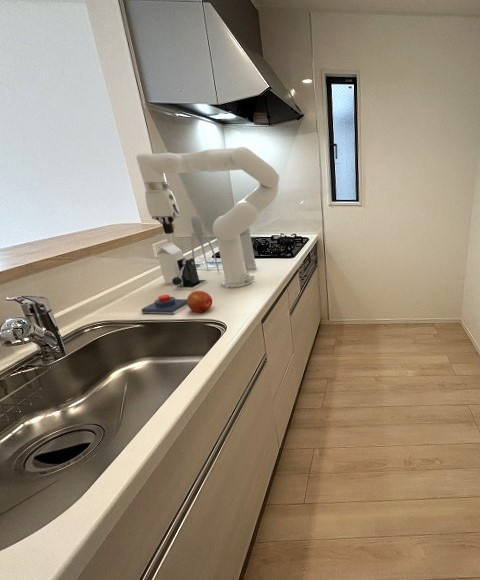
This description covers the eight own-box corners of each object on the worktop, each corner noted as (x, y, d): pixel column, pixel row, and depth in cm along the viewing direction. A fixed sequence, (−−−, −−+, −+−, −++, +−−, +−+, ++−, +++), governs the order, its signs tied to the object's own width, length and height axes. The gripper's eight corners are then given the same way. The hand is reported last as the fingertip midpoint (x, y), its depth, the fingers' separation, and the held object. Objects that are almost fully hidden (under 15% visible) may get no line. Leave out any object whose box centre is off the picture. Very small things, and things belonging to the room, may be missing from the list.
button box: (190, 304, 125) (188, 295, 124) (172, 315, 116) (170, 305, 115) (162, 303, 126) (159, 294, 125) (142, 314, 117) (139, 304, 116)
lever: (181, 286, 137) (176, 282, 134) (173, 286, 137) (168, 282, 134) (193, 263, 144) (188, 258, 141) (186, 263, 144) (181, 258, 141)
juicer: (214, 276, 158) (200, 216, 147) (196, 276, 158) (181, 216, 147) (224, 270, 168) (212, 213, 157) (208, 270, 168) (194, 213, 157)
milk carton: (189, 280, 153) (180, 242, 147) (179, 285, 147) (168, 245, 140) (176, 279, 154) (166, 242, 147) (165, 284, 148) (154, 245, 141)
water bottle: (259, 268, 171) (252, 222, 162) (249, 272, 164) (240, 224, 155) (246, 266, 174) (238, 221, 165) (235, 270, 167) (226, 223, 158)
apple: (206, 305, 124) (201, 286, 121) (219, 309, 120) (214, 290, 117) (185, 312, 118) (180, 293, 115) (198, 317, 114) (193, 297, 111)
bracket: (193, 289, 141) (186, 262, 136) (176, 289, 142) (169, 262, 137) (206, 282, 150) (200, 256, 146) (191, 282, 151) (184, 256, 146)
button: (172, 298, 121) (171, 294, 121) (166, 302, 118) (164, 298, 117) (164, 298, 122) (162, 294, 121) (157, 302, 118) (155, 298, 118)
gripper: (181, 186, 127) (192, 231, 134) (145, 187, 128) (158, 231, 134) (168, 187, 120) (181, 234, 127) (131, 188, 121) (145, 235, 127)
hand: (169, 233), depth 131 cm, fingers closed
